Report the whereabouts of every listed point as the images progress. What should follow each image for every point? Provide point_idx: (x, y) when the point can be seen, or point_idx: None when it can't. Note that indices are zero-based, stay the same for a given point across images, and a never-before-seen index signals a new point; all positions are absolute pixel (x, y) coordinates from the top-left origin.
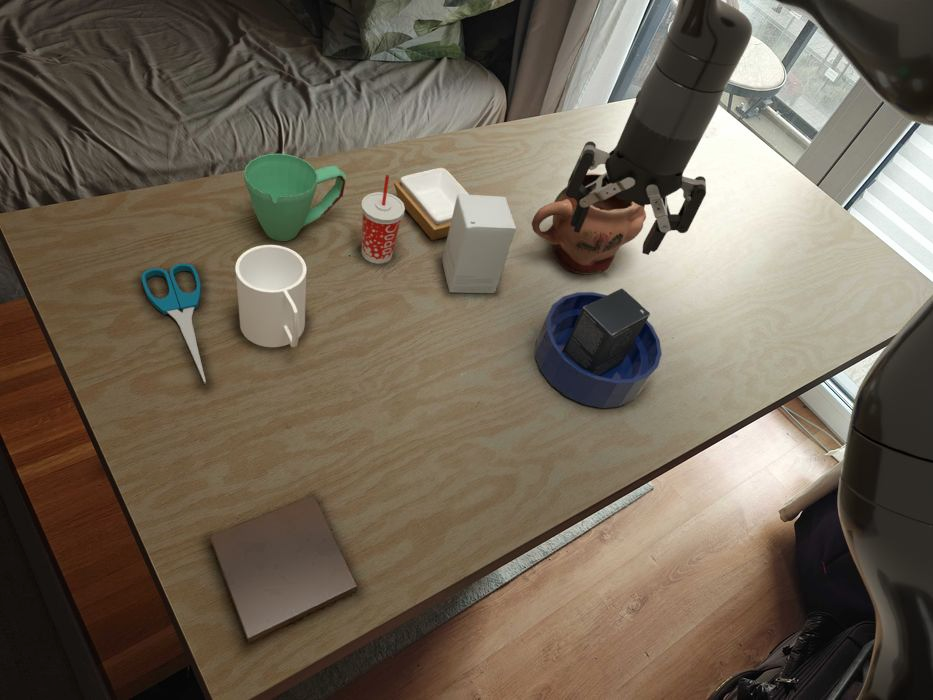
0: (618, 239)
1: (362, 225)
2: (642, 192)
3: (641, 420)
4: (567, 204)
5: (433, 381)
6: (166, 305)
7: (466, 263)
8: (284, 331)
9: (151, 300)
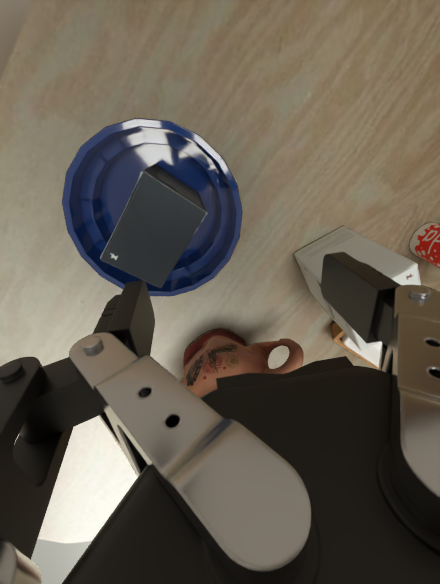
0: (190, 377)
1: None
2: (275, 438)
3: (62, 142)
4: None
5: (343, 58)
6: None
7: (360, 245)
8: None
9: None
